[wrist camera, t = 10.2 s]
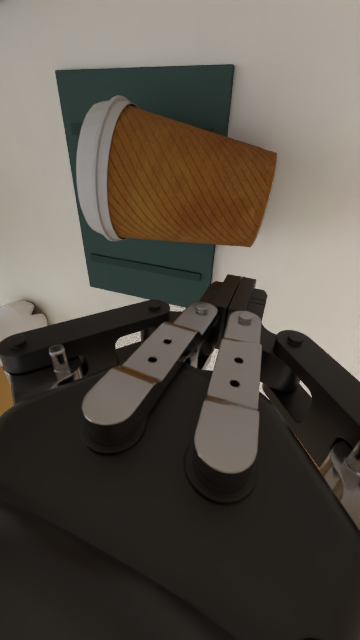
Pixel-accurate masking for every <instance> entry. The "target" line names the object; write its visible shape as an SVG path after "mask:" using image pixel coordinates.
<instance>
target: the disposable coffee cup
mask: <svg viewBox="0 0 360 640" xmlns="http://www.w3.org/2000/svg"><path fill="white" fill-rule="evenodd" d="M276 164H277V153H275V152H271V151H268V150H265V149H262V148H260V147H256V146H253V145H250V144H246V143H244V142H241V141H237V140H234V139H231V138H228V137H226V136H223V135H219V134H216V133H214V132H210V131H207V130H204V129H201V128H198V127H195V126H192V125H188V124H185V123H183V122H179V121H176V120H173V119H170V118H167V117H164V116H161V115H157V114H155V113H152V112H148V111H145V110H142V109H140V108H138V107H137V106H136V104H134V103H131V102H130V101H129V100H128V99H127V98H125V97H124V96H119V95H117V96H115V97H113V98H111V100H110V101H103V102H99V103H97V104H94V105H93V106H92V107H91V109H90V110H89V111H88V113H87V114H86V117H85V119H84V122H83V125H82V127H81V131H80V136H79V141H78V148H77V160H76V176H77V190H78V197H79V201H80V206H81V209H82V212H83V214H84V217H85V219H86V221H87V223H88V225H89V226H90V227H91V228H92V229H93V230H94V231H96V232H98V233H101V234H103V235H104V236H105V237H106V238H107V239H108V240H109V241H119V240H125V239H127V238H135V239H149V240H160V241H174V242H189V243H204V244H217V245H231V246H245V247H251V246H252V244H253V243H254V241H255V239H256V237H257V235H258V232H259V230H260V227H261V224H262V222H263V219H264V216H265V212H266V209H267V205H268V201H269V198H270V194H271V190H272V186H273V182H274V178H275V171H276Z"/></svg>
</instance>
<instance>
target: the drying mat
mask: <svg viewBox="0 0 360 640" xmlns="http://www.w3.org/2000/svg"><path fill="white" fill-rule="evenodd" d="M55 73H56V79H57V85H58V91H59V97H60V103H61V109H62V116H63V122H64V128H65V134H66V140H67V146H68V152H69V159H70V165H71V171H72V177H73V183H74V189H75V195H76V202H77V208H78V214H79V220H80V226H81V232H82V238H83V245H84V251H85V257H86V263H87V269H88V275H89V281H90V286H91V287H96V288H100V289H105V290H109V291H114V292H118V293H123V294H127V295H132V296H136V297H141V298H145V299H150V300H161V301H164V302H166V303H168V304H172V305H177V306H181V307H186V308H187V307H188V305H190V304H191V303H194V302H199V300H200V299H201V297H202V296H203V294H204V293H205V291H206V290H207V288H208V287H209V285H210V284H211V279H212V270H213V260H214V251H215V244H204V243H189V242H174V241H160V240H149V239H135V238H127V239H125V240H119V241H109V240H108V239H107V238H106V237H105V236H104V235H103V234H101V233H98V232H96V231H94V230H93V229H92V228H91V227H90V226H89V225H88V223H87V221H86V219H85V217H84V214H83V212H82V209H81V206H80V201H79V197H78V190H77V176H76V160H77V148H78V141H79V136H80V131H81V127H82V125H83V122H84V119H85V117H86V114H87V113H88V111H89V110H90V109H91V107H92V106H93V105H94V104H97V103H99V102H103V101H110V100H111V98H113V97H115V96H117V95H119V96H124V97H125V98H127V99H128V100H129V101H130V102H131V103H134V104H136V106H137V107H138V108H140V109H142V110H145V111H148V112H152V113H155V114H157V115H161V116H164V117H167V118H170V119H173V120H176V121H179V122H183V123H185V124H188V125H192V126H195V127H198V128H201V129H204V130H207V131H210V132H214V133H216V134H219V135H223V136H226V137H227V132H228V122H229V113H230V104H231V95H232V85H233V76H234V65H233V64H228V65H199V66H169V67H140V68H111V69H81V70H56V71H55Z"/></svg>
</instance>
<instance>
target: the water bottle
mask: <svg viewBox="0 0 360 640" xmlns="http://www.w3.org/2000/svg"><path fill="white" fill-rule="evenodd" d="M34 307H35V306H34V305H33V304H32V303H30V302H25V301H20V302H13V303H9V304H6V305H4V306H2V307H0V342H1V341H2V340H4V339H5V338H7V337H9V336H11V335H14V334H17V333H21V332H25V331H29V330H33V329H37V328H41V327H45V326H47V319H46V317H45V315H43V314H35V315H31V314H32V312H33V310H34ZM2 365H3V364H2V362H1V359H0V367H1V366H2Z"/></svg>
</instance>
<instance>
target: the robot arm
mask: <svg viewBox="0 0 360 640" xmlns="http://www.w3.org/2000/svg"><path fill="white" fill-rule="evenodd" d="M255 284H256V279H251V278H246V277H242V279H241V277H240V276H234V275H229V274H228V275H227V276H226V278H225V280H224V282H218V281H216V282H214V283H212V284H210V285H209V287H208V288H207V290H206V291H205V293H204V294H203V296H202V297H201V299H200V300H199V302H194V303H191V304H190V305H188V307H187V308H186V309H185V310H184V311H183V312H176V311H170V306H169V305H168V304H167V303H166V302H164V301H161V300H148V301H144V302H140V303H136V304H132V305H128V306H124V307H121V308H117V309H113V310H109V311H105V312H101V313H97V314H93V315H89V316H85V317H81V318H77V319H73V320H69V321H65V322H61V323H57V324H53V325H49V326H45V327H41V328H37V329H33V330H29V331H25V332H21V333H17V334H14V335H11V336H9V337H7V338H5V339H4V340H2V341H1V342H0V359H1V362H2V364H3V369H4V372H5V374H6V376H7V378H8V381H9V383H10V385H11V389H12V396H13V404H14V406H12V407H11V408H10V409H8V410H7V411H6V412H4V413H3V414H2V415H1V417H0V640H360V382H359V381H358V380H357V379H356V378H355V377H354V376H353V375H351V374H350V373H349V372H348V371H347V370H346V369H345V368H343V367H342V366H341V365H340V364H339V363H338V362H337V361H335V360H334V359H333V358H332V357H331V356H330V355H329V354H327V353H326V352H325V351H324V350H323V349H322V348H321V347H319V346H318V345H317V344H316V343H315V342H314V341H313V340H311V339H310V338H309V337H308V336H306V335H305V334H303V333H300V332H297V331H292V330H284V331H281V332H279V333H278V334H277V335H276V334H273V333H271V332H270V331H268V330H267V329H265V328H264V326H263V325H262V317H263V313H264V308H265V304H266V299H267V294H266V292H265V291H264V290H260V289H255ZM138 331H141V341H140V342H137V343H134V344H131V345H128V346H125V347H121V348H118V349H115V343H116V341H117V340H118V339H119V338H120V337H122V336H125V335H129V334H132V333H135V332H138ZM214 348H216V349H219V351H218V355H217V358H216V362H215V366H214V370H213V371H209V370H205V369H206V367H207V366H208V364H209V362H210V360H211V356H212V352H213V351H214ZM300 380H301V381H302V382H303V383H304V384H305V385H306V387H307V388H308V389H309V390H310V392H311V395H312V398H311V396H310V395H309V394H308V393H307V392H306V391H305V390H304V389H303V388H302V386H301V385H300V384H299V382H300ZM260 382H262V383H263V384H262V388H263V391H264V393H265V394H266V395H267V397H268V398H269V399H270V400H269V399H268V398H267V397H265V396H264V395H263V394H262V393H260V392H259V386H260ZM290 428H291V429H290ZM293 432H294V433H293ZM295 435H296V436H295ZM297 438H298V439H299V440H298V439H297ZM299 441H300V442H301V443H302V444H303V446H304V448H305V449H306V450H307V452H308V453H309V454H310V456H311V457H312V458H313V460H314V461H315V463H316V464H317V465H318V467H319V470H318V468H317V467H316V465H315V464H314V462H313V461H312V459H311V458H310V456H309V455H308V454H307V452H306V451H305V449H304V448H303V446H302V445H301V443H300V442H299Z"/></svg>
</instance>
